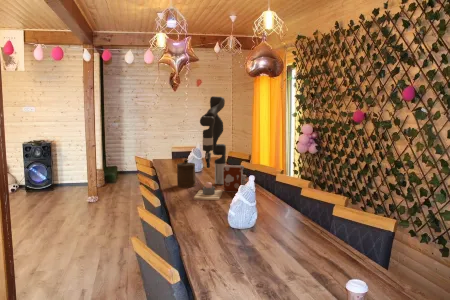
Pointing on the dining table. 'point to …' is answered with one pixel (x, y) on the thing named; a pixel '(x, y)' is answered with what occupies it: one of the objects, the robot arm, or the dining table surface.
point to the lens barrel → (208, 190)
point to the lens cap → (208, 185)
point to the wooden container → (186, 174)
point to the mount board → (208, 197)
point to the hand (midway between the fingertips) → (208, 167)
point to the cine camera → (233, 177)
